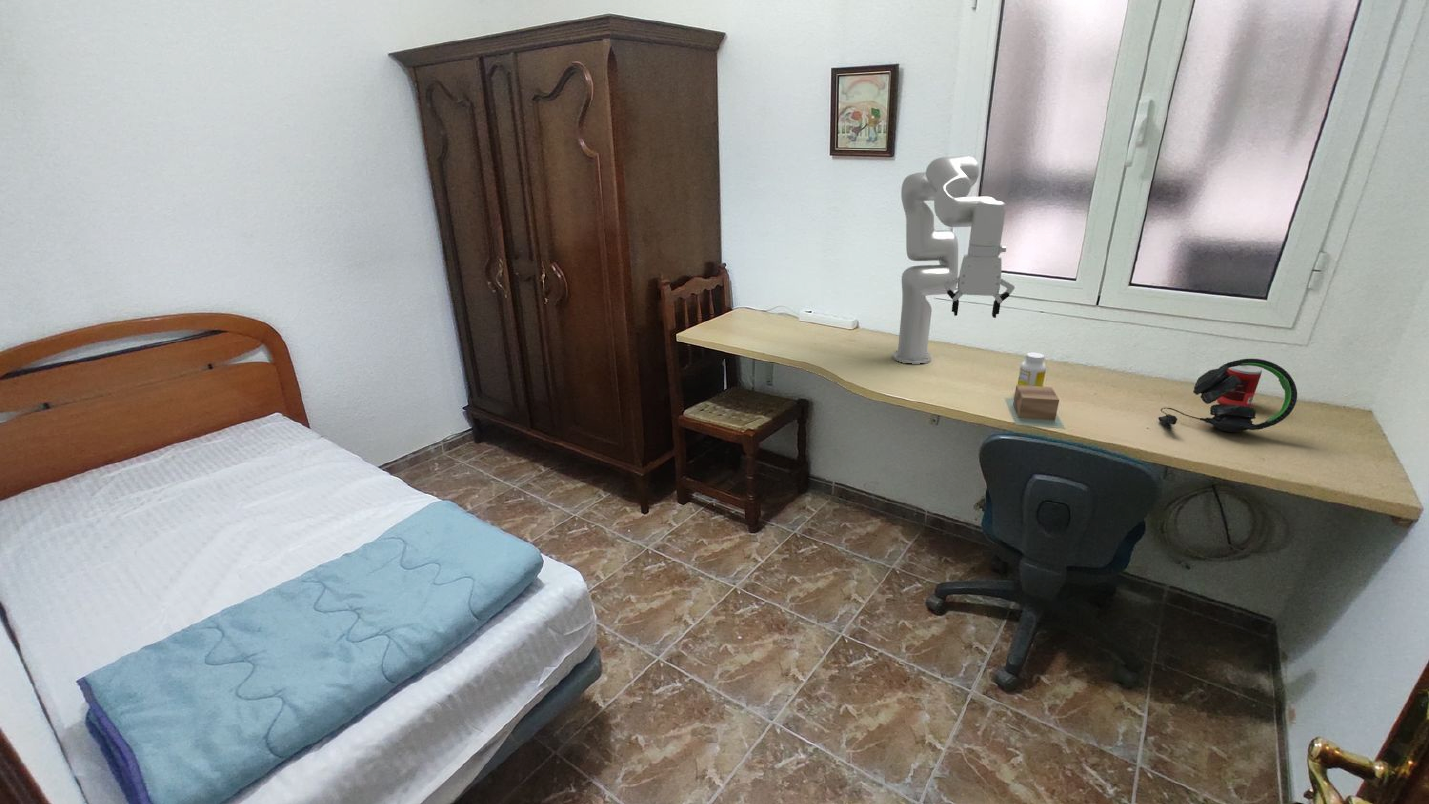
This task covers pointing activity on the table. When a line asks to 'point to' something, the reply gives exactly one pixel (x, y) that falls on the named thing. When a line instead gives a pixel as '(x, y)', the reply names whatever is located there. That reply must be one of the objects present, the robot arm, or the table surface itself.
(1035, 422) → the felt pad
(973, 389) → the table surface
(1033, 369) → the supplement bottle
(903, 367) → the table surface
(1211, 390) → the headset
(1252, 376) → the canned food
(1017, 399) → the walnut block
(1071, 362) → the table surface
